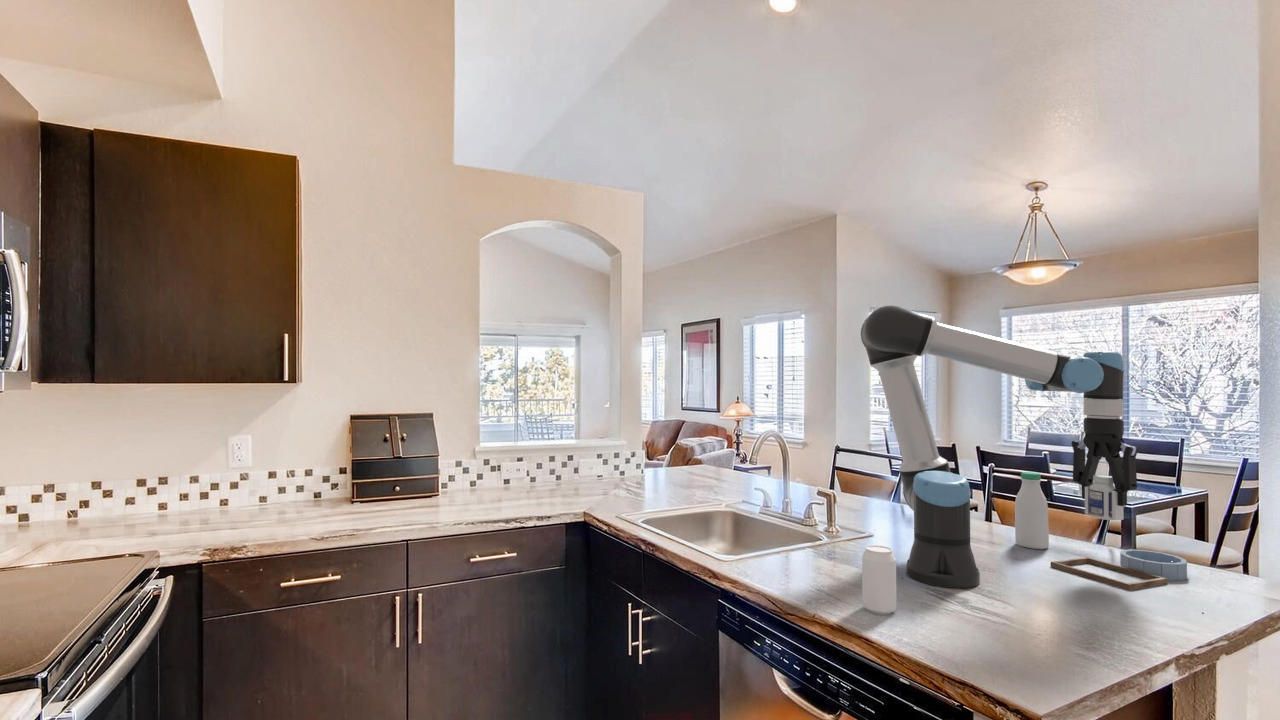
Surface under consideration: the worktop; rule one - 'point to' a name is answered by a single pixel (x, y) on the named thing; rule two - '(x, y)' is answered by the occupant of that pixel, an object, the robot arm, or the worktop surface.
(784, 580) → the worktop surface
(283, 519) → the worktop surface
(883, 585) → the beverage can
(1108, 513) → the pill bottle
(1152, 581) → the empty rectangular wooden frame
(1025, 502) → the milk bottle
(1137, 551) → the bowl
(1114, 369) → the robot arm
